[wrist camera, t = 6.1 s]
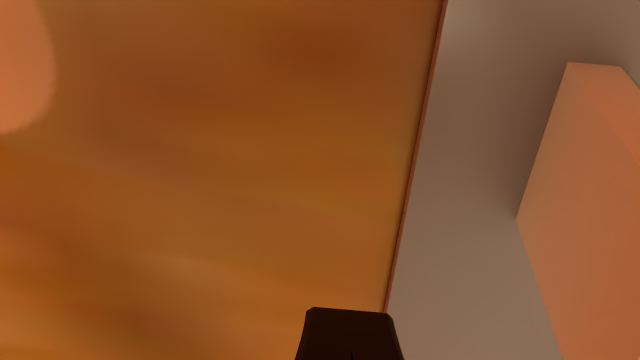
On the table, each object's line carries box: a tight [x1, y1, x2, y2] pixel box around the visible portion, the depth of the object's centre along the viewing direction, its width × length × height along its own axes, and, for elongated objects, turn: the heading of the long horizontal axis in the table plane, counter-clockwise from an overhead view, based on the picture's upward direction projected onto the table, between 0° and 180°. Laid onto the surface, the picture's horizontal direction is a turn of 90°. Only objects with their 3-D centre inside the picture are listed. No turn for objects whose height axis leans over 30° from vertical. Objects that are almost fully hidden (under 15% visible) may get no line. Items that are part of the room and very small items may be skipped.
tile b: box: [516, 62, 640, 360], centre depth 14 cm, size 5×2×7 cm, turn 176°
